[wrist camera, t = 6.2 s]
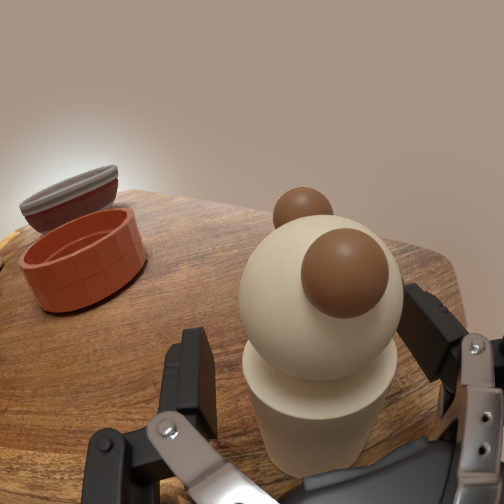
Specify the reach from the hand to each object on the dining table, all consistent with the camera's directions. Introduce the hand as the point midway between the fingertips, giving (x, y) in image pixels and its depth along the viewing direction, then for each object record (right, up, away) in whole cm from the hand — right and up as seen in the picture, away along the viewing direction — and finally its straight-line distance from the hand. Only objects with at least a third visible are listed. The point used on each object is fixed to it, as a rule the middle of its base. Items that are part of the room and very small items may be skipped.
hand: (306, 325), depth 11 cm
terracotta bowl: (-22, 0, +20) cm, 30 cm away
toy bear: (+1, -7, +1) cm, 7 cm away
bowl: (-38, +8, +41) cm, 57 cm away
